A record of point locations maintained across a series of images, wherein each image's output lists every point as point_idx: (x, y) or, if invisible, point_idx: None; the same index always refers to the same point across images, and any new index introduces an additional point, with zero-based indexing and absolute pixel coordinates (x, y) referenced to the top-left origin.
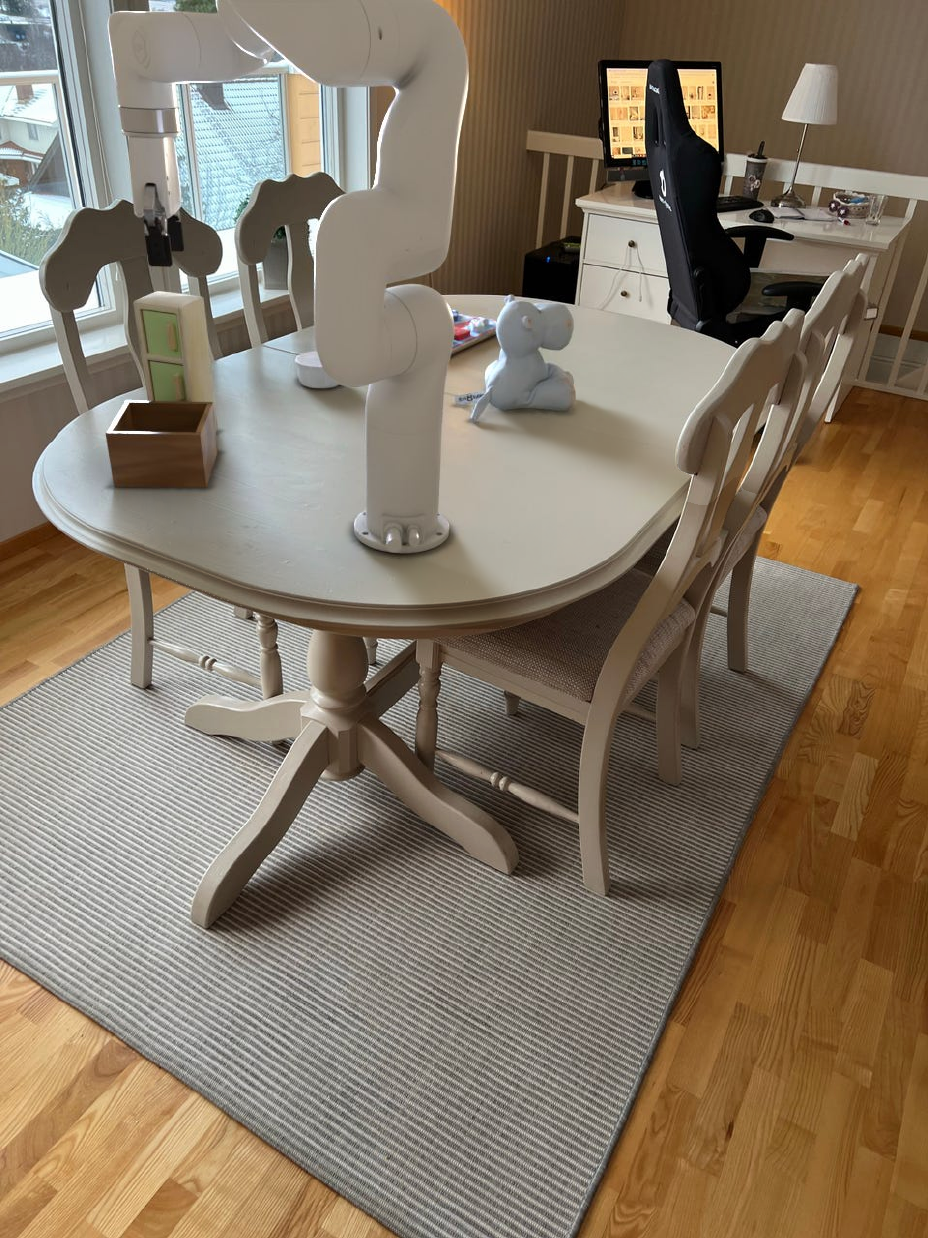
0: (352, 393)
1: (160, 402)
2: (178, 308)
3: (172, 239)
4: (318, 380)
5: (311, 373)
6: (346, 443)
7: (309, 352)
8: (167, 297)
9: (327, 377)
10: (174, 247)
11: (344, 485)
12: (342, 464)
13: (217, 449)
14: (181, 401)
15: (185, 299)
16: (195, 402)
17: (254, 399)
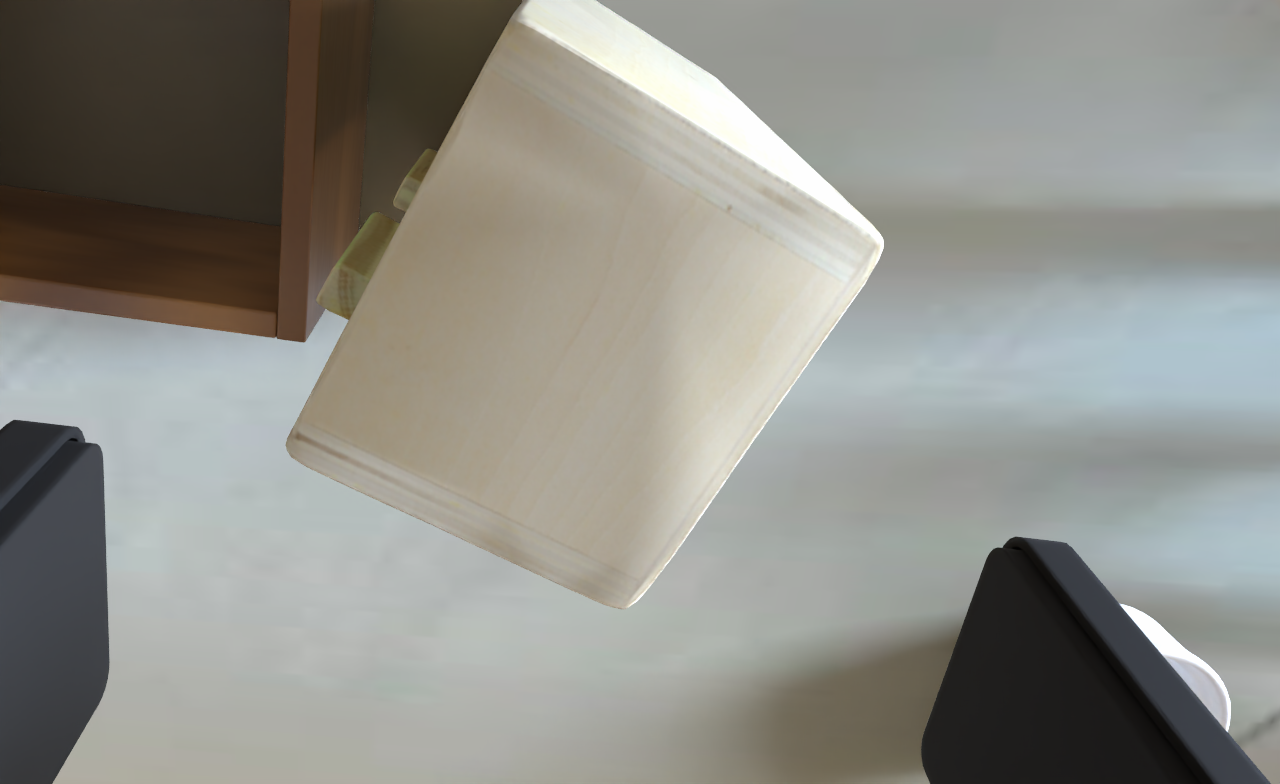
0: (921, 756)
1: (289, 68)
2: (290, 432)
3: (1003, 762)
4: None
5: None
6: (428, 700)
7: (1225, 705)
8: (632, 342)
9: None
10: (958, 698)
11: None
12: (235, 673)
13: None
14: (308, 184)
15: (549, 488)
16: (294, 256)
17: (945, 423)
